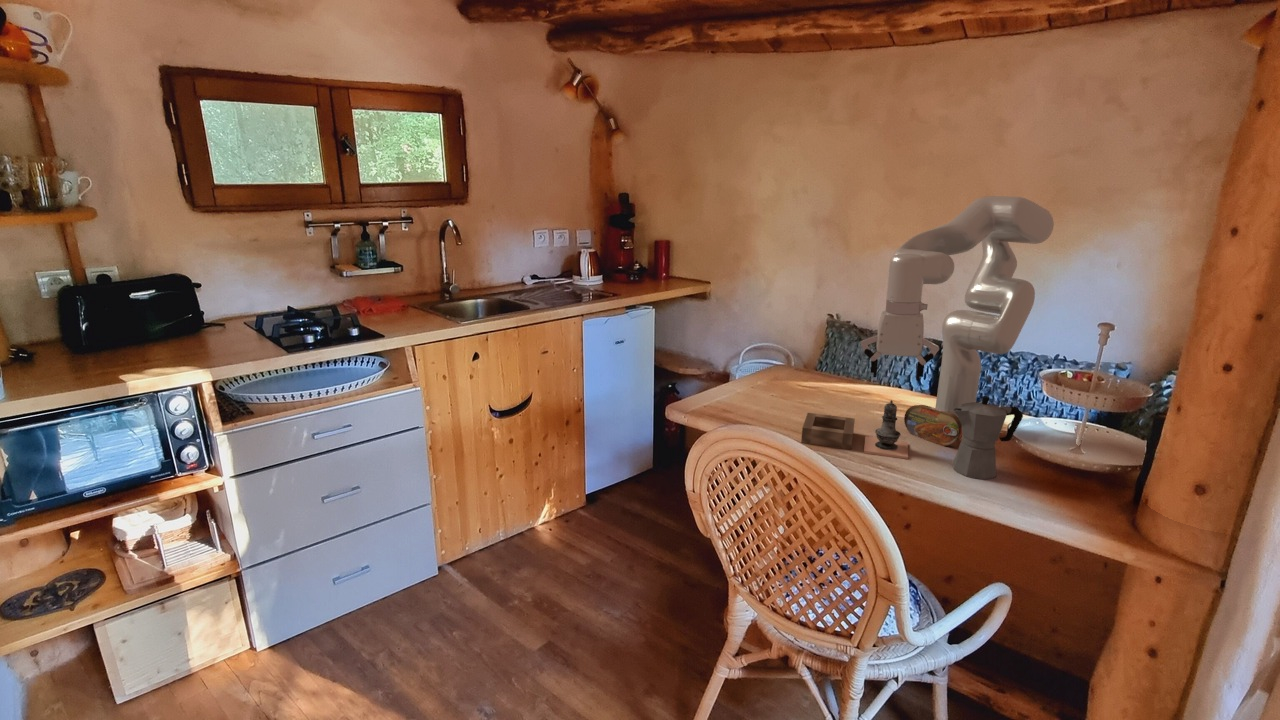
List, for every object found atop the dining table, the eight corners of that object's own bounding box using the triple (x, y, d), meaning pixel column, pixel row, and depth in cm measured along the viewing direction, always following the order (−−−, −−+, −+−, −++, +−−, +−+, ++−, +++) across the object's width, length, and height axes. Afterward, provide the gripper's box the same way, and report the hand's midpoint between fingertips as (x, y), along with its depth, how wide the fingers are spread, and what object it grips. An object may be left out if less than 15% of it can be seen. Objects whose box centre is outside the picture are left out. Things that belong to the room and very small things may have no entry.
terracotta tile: (906, 444, 162) (907, 441, 162) (907, 459, 153) (908, 456, 153) (864, 438, 166) (865, 436, 165) (863, 452, 157) (863, 450, 156)
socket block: (853, 432, 169) (854, 418, 168) (851, 449, 158) (852, 434, 157) (806, 426, 173) (807, 412, 172) (801, 442, 162) (802, 427, 161)
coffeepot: (954, 479, 143) (966, 402, 138) (936, 462, 152) (946, 389, 147) (1024, 480, 143) (1038, 403, 138) (1001, 463, 152) (1014, 390, 147)
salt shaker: (868, 443, 161) (873, 397, 158) (887, 440, 163) (892, 395, 160) (885, 452, 156) (890, 405, 152) (904, 448, 158) (910, 402, 154)
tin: (901, 431, 171) (905, 401, 169) (909, 429, 173) (912, 399, 170) (955, 450, 159) (960, 418, 157) (962, 448, 161) (967, 416, 158)
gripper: (942, 306, 151) (934, 376, 155) (864, 302, 157) (858, 370, 161) (944, 313, 144) (936, 385, 149) (863, 309, 150) (857, 379, 155)
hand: (896, 377), depth 155 cm, fingers open, 9 cm apart
